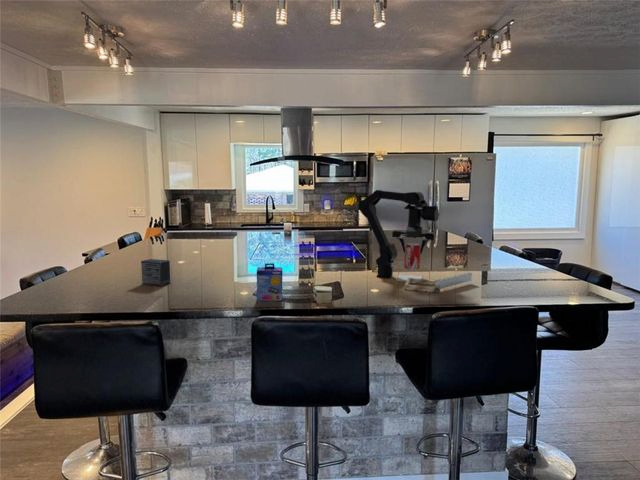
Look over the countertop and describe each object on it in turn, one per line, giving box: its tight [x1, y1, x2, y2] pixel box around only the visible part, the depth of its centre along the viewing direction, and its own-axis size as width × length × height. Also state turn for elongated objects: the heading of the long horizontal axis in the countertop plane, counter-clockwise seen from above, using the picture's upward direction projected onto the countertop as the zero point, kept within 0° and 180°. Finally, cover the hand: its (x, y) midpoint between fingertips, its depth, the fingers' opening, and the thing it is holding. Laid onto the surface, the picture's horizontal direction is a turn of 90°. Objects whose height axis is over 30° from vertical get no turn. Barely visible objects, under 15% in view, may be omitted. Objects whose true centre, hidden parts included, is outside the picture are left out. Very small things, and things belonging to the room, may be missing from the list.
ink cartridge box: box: [256, 262, 283, 302], centre depth 165 cm, size 10×6×14 cm, turn 95°
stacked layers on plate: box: [313, 285, 333, 304], centre depth 164 cm, size 10×9×6 cm
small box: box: [140, 258, 171, 287], centre depth 186 cm, size 11×6×10 cm, turn 71°
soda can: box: [403, 242, 422, 271], centre depth 196 cm, size 7×7×12 cm
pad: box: [395, 274, 424, 282], centre depth 201 cm, size 11×11×1 cm
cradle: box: [403, 278, 441, 294], centre depth 186 cm, size 15×14×2 cm
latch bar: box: [434, 272, 473, 290], centre depth 185 cm, size 2×26×4 cm, turn 129°
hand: (412, 253), depth 196 cm, fingers closed on soda can, 7 cm apart
